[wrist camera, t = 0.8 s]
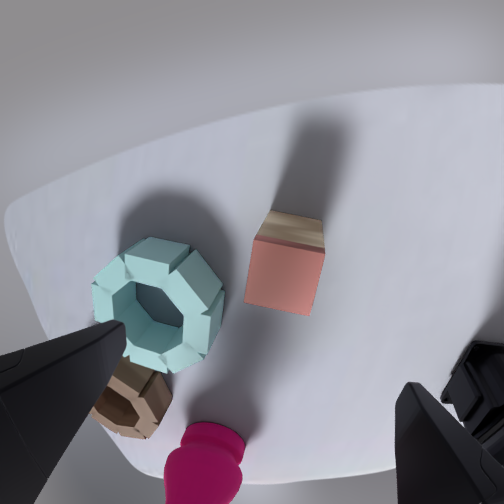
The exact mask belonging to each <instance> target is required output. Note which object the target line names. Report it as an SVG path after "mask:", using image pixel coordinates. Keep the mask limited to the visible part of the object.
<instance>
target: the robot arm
mask: <svg viewBox="0 0 504 504" xmlns="http://www.w3.org/2000/svg"><path fill="white" fill-rule="evenodd" d="M126 346H127V339H126V327H125V324H124V323H123V322H121V321H118V320H115V319H112V320H109V321H106V322H103V323H100V324H97V325H94V326H91V327H88V328H85V329H82V330H79V331H76V332H73V333H70V334H67V335H64V336H61V337H58V338H55V339H52V340H49V341H46V342H43V343H40V344H37V345H33V346H30V347H28V348H25V349H21V350H18V351H15V352H12V353H8V354H5V355H1V356H0V504H34V502H35V500H36V499H37V497H38V495H39V494H40V492H41V490H42V489H43V487H44V485H45V483H46V482H47V480H48V479H47V478H49V476H50V475H51V473H52V471H53V470H54V468H55V466H56V465H57V463H58V461H59V460H60V458H61V457H62V455H63V453H64V452H65V450H66V449H67V447H68V445H69V444H70V442H71V441H72V439H73V437H74V436H75V434H76V433H77V431H78V429H79V428H80V426H81V425H82V423H83V422H84V420H85V418H86V417H87V415H88V414H89V412H90V411H91V409H92V408H93V406H94V405H95V403H96V402H97V400H98V398H99V397H100V395H101V394H102V392H103V391H104V389H105V388H106V386H107V384H108V383H109V381H110V379H111V377H112V375H113V373H114V371H115V369H116V367H117V365H118V363H119V361H120V359H121V357H122V355H123V353H124V351H125V349H126ZM476 346H477V347H476ZM475 347H476V348H475ZM440 399H441V402H442V403H445V404H453V405H454V408H455V410H456V413H457V416H458V418H459V421H460V422H463V424H464V427H465V428H464V427H463V426H462V425H461V424H460V423H459V422H458V421H457V420H456V419H455V418H454V417H453V416H452V415H451V414H450V413H449V412H448V411H447V410H446V409H445V408H444V407H443V406H442V405H441V404H440V403H439V402H438V401H437V400H436V399H435V398H434V397H433V396H432V395H431V394H430V393H429V392H428V391H427V390H426V389H425V388H424V387H423V386H422V385H421V384H420V383H417V382H408V383H406V385H405V386H404V388H403V390H402V392H401V393H400V395H399V397H398V399H397V401H396V405H395V459H396V473H397V494H398V504H504V344H500V343H492V342H483V341H474V342H472V343H471V345H470V346H469V348H468V350H467V352H466V354H465V356H464V358H463V359H462V361H461V363H460V365H459V367H458V368H457V370H456V372H455V374H454V375H453V377H452V379H451V380H450V382H449V384H448V385H447V387H446V389H445V390H444V392H443V394H442V395H441V397H440Z"/></svg>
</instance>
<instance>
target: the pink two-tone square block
mask: <svg viewBox="0 0 504 504" xmlns="http://www.w3.org/2000/svg"><path fill="white" fill-rule="evenodd" d="M324 258H325V247H324V238H323V229H322V221H321V220H317V219H312V218H307V217H302V216H297V215H292V214H287V213H282V212H277V211H272V210H270V211H269V213H268V215H267V217H266V219H265V220H264V222H263V224H262V226H261V227H260V229H259V231H258V233H257V235H256V236H255V238H254V241H253V247H252V254H251V260H250V266H249V272H248V279H247V285H246V291H245V298H244V303H248V304H253V305H258V306H262V307H267V308H272V309H277V310H282V311H286V312H291V313H296V314H301V315H306V316H310V312H311V308H312V305H313V301H314V297H315V293H316V289H317V286H318V282H319V278H320V274H321V270H322V266H323V262H324Z"/></svg>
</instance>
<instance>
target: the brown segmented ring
mask: <svg viewBox="0 0 504 504" xmlns="http://www.w3.org/2000/svg"><path fill="white" fill-rule="evenodd" d="M114 390H115V391H114ZM117 392H118V393H117ZM120 394H121V395H120ZM123 396H124V397H123ZM126 398H127V399H126ZM171 398H172V395H171V393H170V391H169V389H168V387H167V385H166V383H165V381H164V379H163V377H162V375H161V373H160V372H154V369H151V368H148V367H145V366H142V365H139V364H136V363H133V362H130V355H128V356H126V357H123V355H122V357H121V359H120V361H119V363H118V365H117V367H116V369H115V371H114V373H113V375H112V377H111V379H110V381H109V383H108V384H107V386H106V388H105V389H104V391H103V392H102V394H101V395H100V397H99V398H98V400H97V402H96V403H95V405H94V406H93V408H92V409H91V411H90V412H89V414H92V418H93V419H95V420H96V421H98V422H99V423H101V424H102V425H104V426H105V427H107V428H108V429H110V430H111V431H113V432H114V433H116V434H117V433H118V432H119V433H120V435H121V436H125V437H131V438H138V439H146V438H148V439H149V438H150V437H151V435H152V434H153V433H154V431H155V430H156V429H157V427H158V426H159V424H160V422H161V421H162V419H163V417H164V415H165V413H166V411H167V409H168V407H169V405H170V403H171V401H172V399H171ZM129 400H130V401H129Z"/></svg>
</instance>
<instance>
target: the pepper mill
mask: <svg viewBox="0 0 504 504" xmlns="http://www.w3.org/2000/svg"><path fill="white" fill-rule="evenodd" d="M180 445H181V447H179V448H177V449H175V450H173V451H172V452H171V453H170V454H169V456H168V458H167V461H166V464H165V467H164V485H165V493H166V503H165V504H229V503H230V502H231V501H232V500H233V498H234V497H235V495H236V494H237V492H238V491H239V488H240V485H241V483H242V472H241V470H240V468H239V466H238V465H239V464H240V463H241V461H242V458H243V455H244V451H245V444H244V441H243V440H242V438H241V437H240V436H239V435H238V434H237V433H236V432H234V431H233V430H231V429H229V428H227V427H225V426H222V425H219V424H215V423H208V422H201V423H195V424H192V425H190V426H189V427H187V429H186V430H185V433H184V435H183V437H182V439H181V442H180Z"/></svg>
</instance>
